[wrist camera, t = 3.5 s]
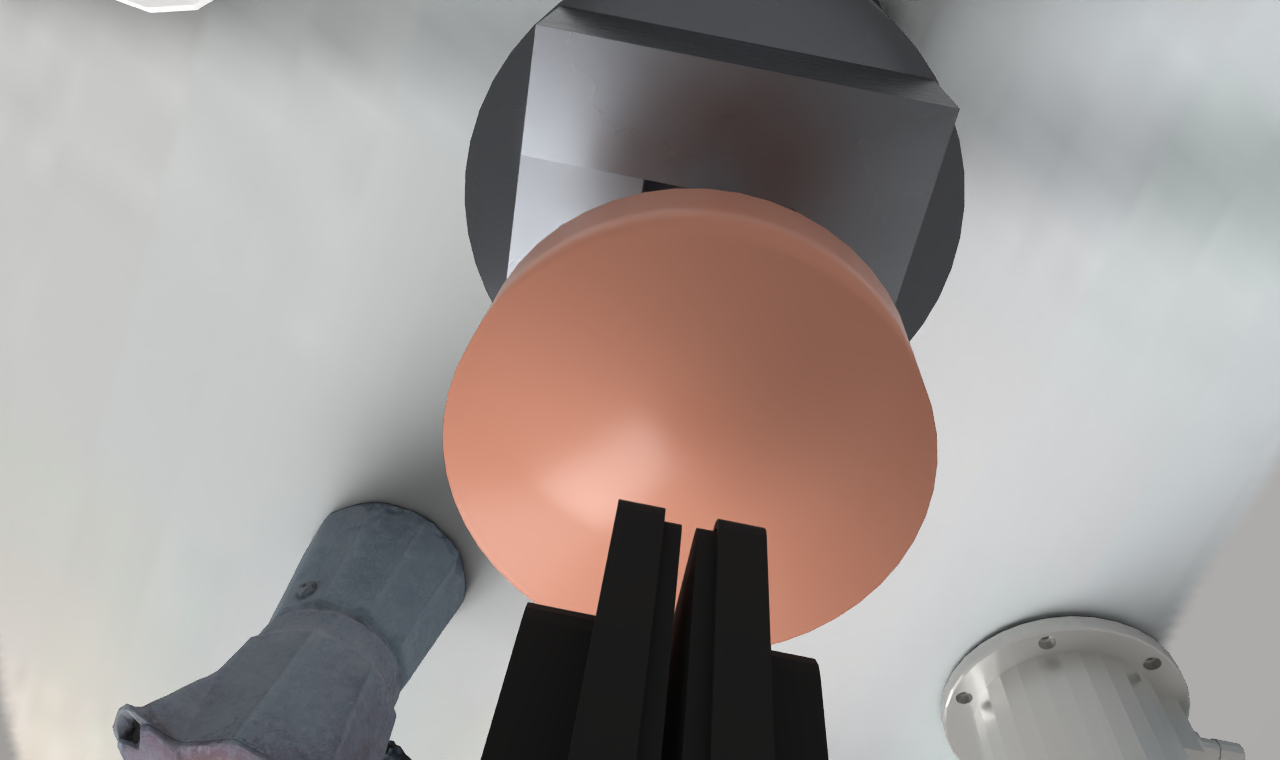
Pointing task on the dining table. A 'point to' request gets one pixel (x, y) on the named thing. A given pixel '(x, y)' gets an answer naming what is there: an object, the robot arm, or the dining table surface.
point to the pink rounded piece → (693, 402)
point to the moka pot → (319, 652)
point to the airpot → (724, 129)
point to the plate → (166, 5)
